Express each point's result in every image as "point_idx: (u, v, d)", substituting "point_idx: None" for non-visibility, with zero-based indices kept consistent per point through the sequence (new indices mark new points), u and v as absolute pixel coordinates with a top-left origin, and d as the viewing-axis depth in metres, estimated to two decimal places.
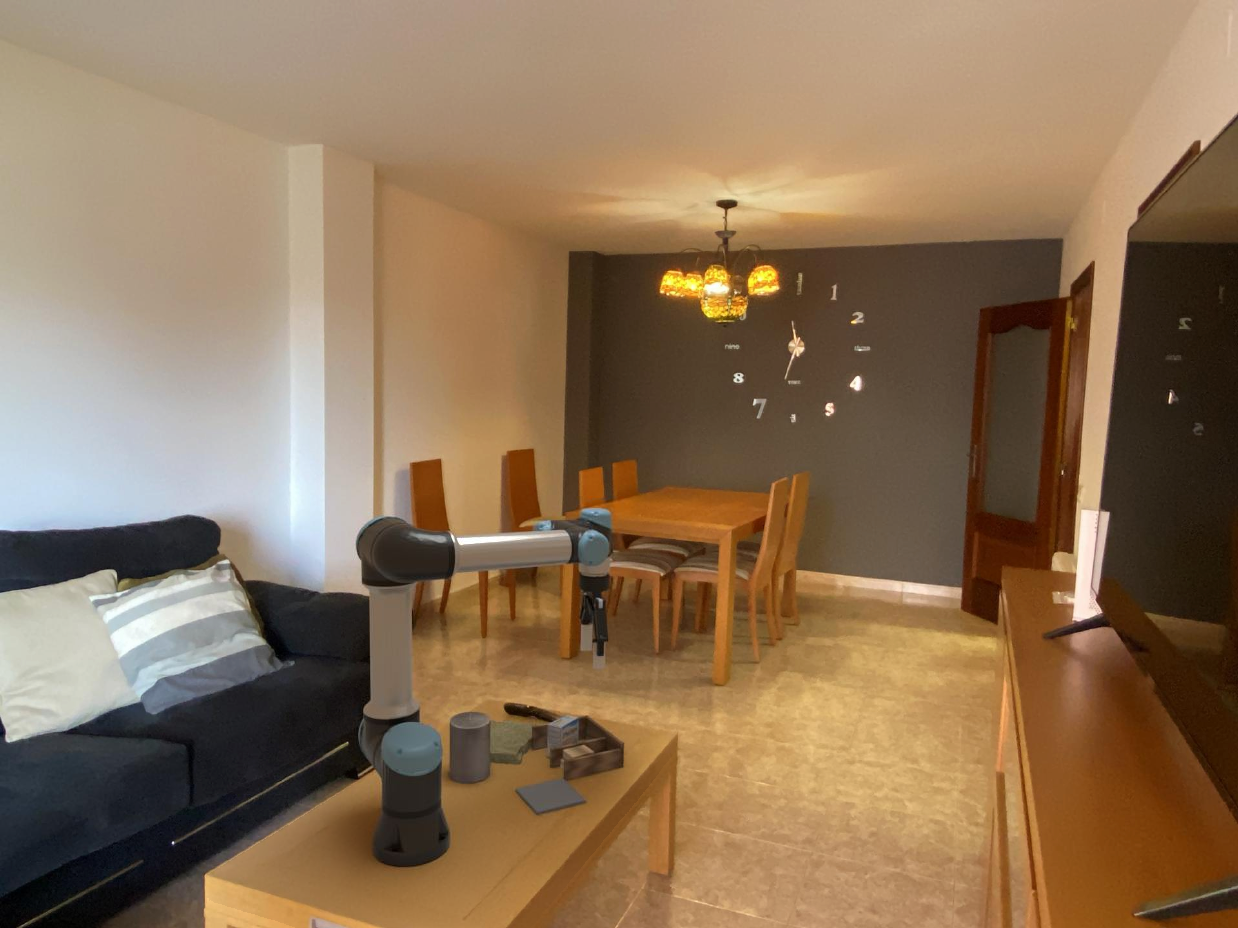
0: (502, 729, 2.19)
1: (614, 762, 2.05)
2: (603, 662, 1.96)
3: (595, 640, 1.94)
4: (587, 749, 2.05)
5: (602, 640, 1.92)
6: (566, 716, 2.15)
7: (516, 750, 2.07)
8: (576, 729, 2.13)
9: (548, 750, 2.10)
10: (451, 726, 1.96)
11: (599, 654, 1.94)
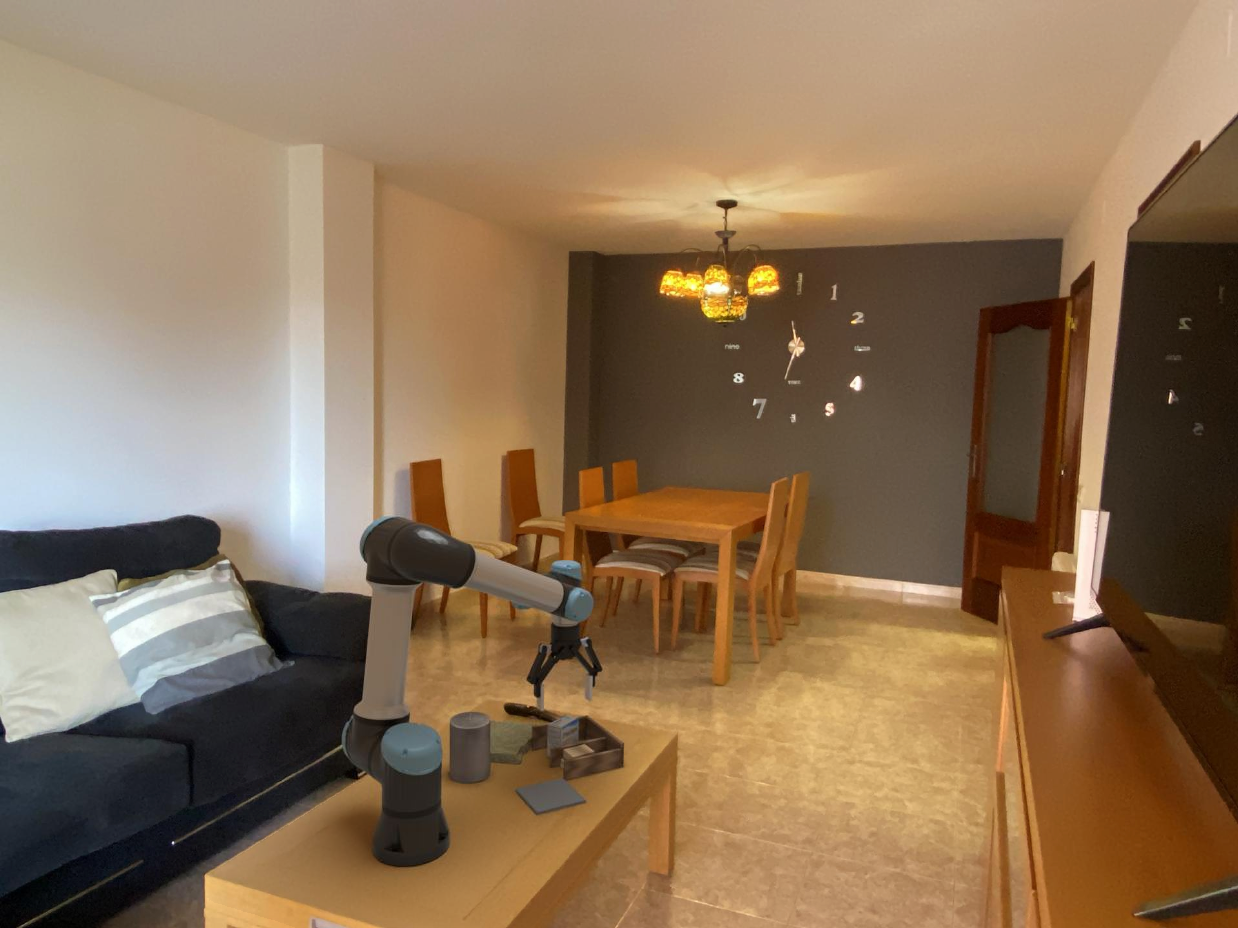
0: (502, 729, 2.19)
1: (614, 762, 2.05)
2: (540, 704, 2.07)
3: None
4: (587, 748, 2.05)
5: (528, 681, 2.06)
6: (566, 716, 2.15)
7: (516, 750, 2.07)
8: (576, 729, 2.13)
9: (548, 750, 2.10)
10: (451, 726, 1.96)
11: (534, 694, 2.07)
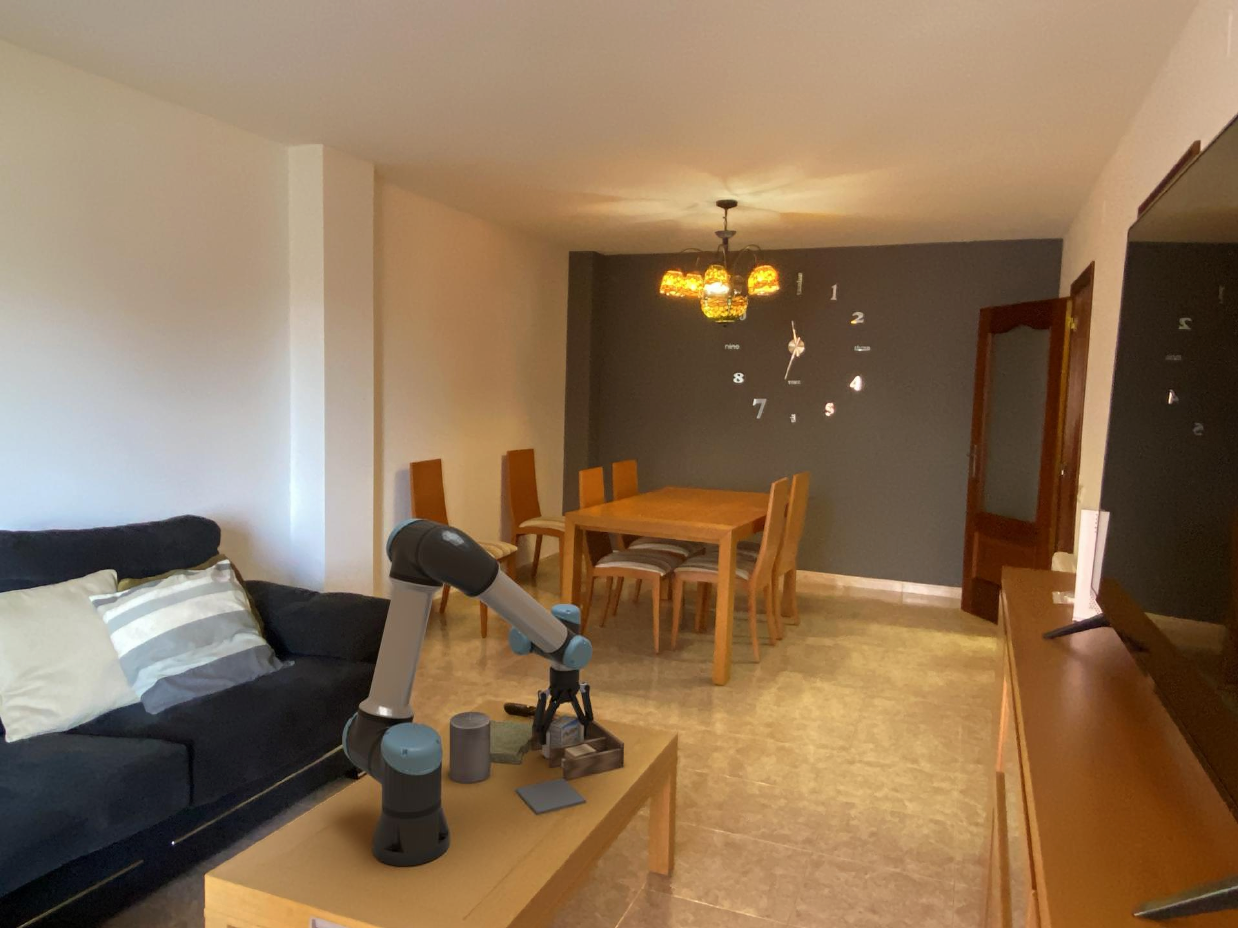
0: (502, 729, 2.19)
1: (614, 762, 2.05)
2: (546, 752, 2.09)
3: None
4: (589, 748, 2.05)
5: (534, 729, 2.08)
6: (566, 716, 2.15)
7: (516, 750, 2.07)
8: (576, 729, 2.13)
9: None
10: (451, 726, 1.96)
11: (540, 742, 2.09)
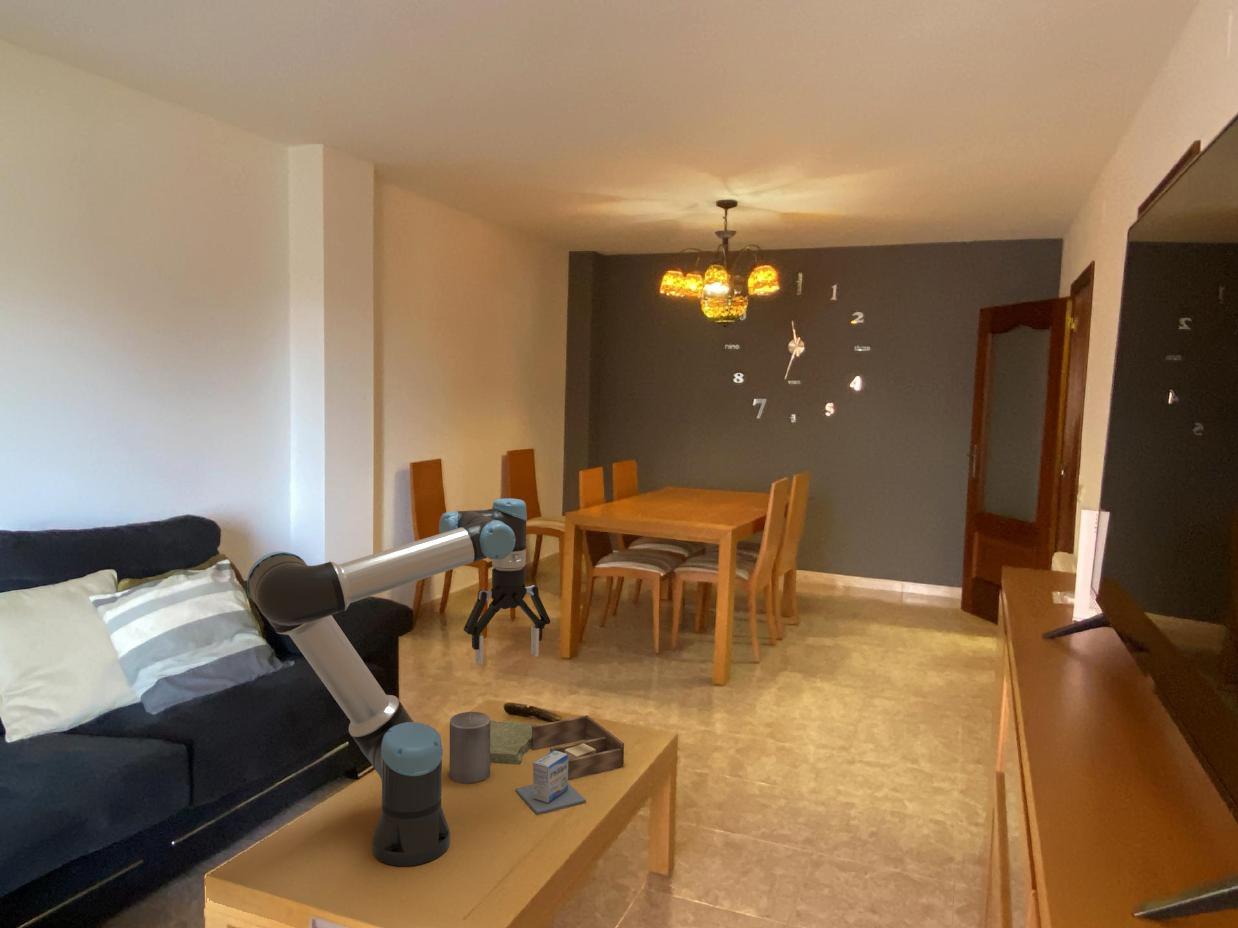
0: (502, 729, 2.19)
1: (614, 762, 2.05)
2: (479, 658, 1.86)
3: None
4: (588, 747, 2.06)
5: (465, 631, 1.85)
6: (554, 752, 1.92)
7: (516, 750, 2.07)
8: (565, 767, 1.91)
9: (534, 791, 1.87)
10: (451, 726, 1.96)
11: (472, 646, 1.86)
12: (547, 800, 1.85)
